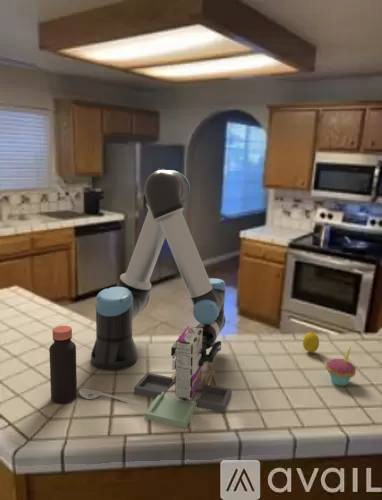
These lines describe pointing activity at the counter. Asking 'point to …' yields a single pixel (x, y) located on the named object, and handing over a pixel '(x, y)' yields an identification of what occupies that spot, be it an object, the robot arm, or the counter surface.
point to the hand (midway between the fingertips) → (183, 366)
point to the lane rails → (204, 381)
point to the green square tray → (171, 411)
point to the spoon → (96, 393)
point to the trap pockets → (209, 399)
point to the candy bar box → (188, 362)
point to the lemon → (311, 342)
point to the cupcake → (341, 370)
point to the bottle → (63, 366)
